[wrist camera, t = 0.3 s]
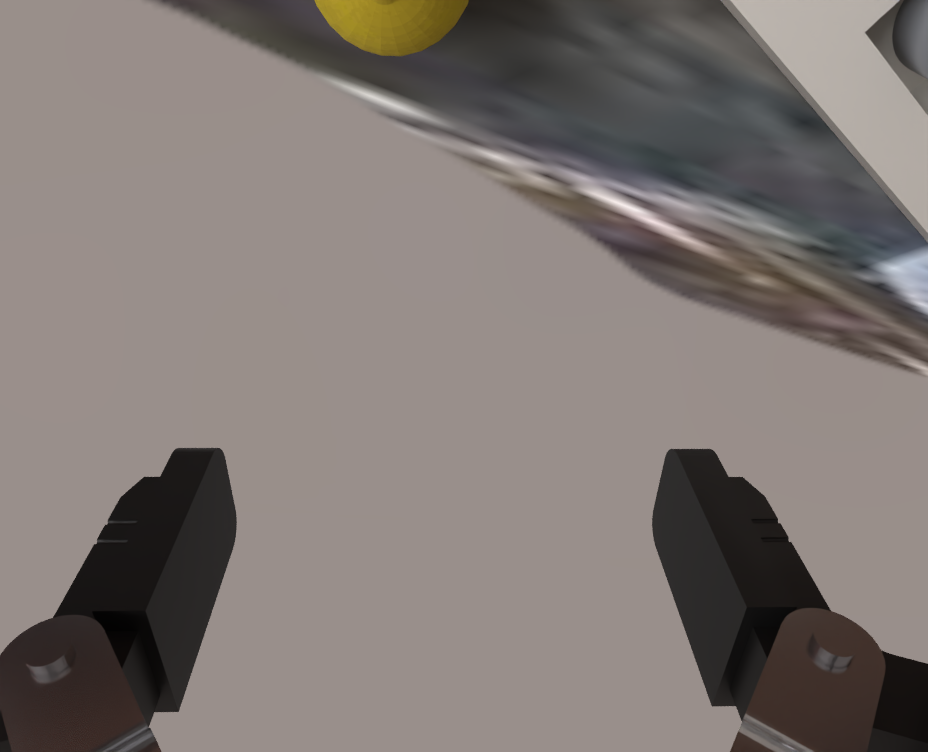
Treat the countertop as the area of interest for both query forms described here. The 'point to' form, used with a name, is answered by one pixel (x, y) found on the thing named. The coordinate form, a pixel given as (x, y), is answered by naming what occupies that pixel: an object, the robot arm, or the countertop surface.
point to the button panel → (853, 85)
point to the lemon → (392, 23)
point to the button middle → (912, 36)
